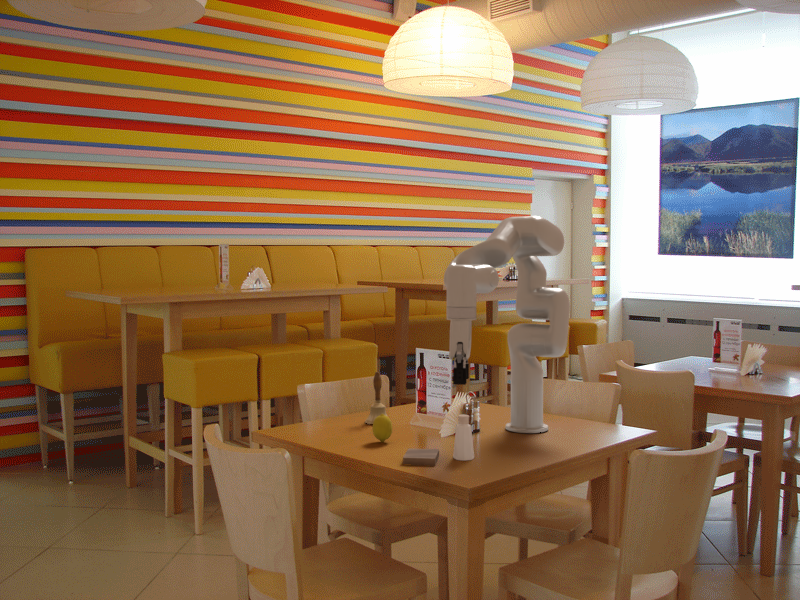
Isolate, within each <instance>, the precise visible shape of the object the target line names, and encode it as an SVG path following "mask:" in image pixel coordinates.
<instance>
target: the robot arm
mask: <svg viewBox="0 0 800 600" xmlns="http://www.w3.org/2000/svg"><path fill="white" fill-rule="evenodd" d="M564 246H565V237H564V233H563V232H562V230H561V229H560V227H558V226H557V225H555V224H554V223H553V222H551V221H549V220H548V219H546V218H544V217H542V216H538V215H527V216H526V215H525V216H509V217H507V218H505V219H503V220H501V221H500V223H498V225H497V226H496V228H495V229H494V230H493V231H492V232H491V233H490V235H489V236H488V237H487V238H486V240H484V241H482V242H480V243H477V244H475V245H474V246H471V247H469V248H467V249H465V250H463V251H461V252H460V253H459V254H457V255H456V256H455V257H454V258H452V260H451V261H450V263H449V264H448V265H447V267H446V269H445V271H444V275H443V284H444V286H445V288H446V320H447V321H450V324H449V325H450V326H449V352H448V353H449V355H448V359H450V360H453V358H454V363H453V368H452V369H453V373H452V375H453V376H452V377H453V379H452V380H453V385H458V386H459V385H460V386H461V385H462V386H464V385H465V386H466V385H467V381H468V380H469V377H470V371H469V370H470V364H469V358H470V357H471V349H472V323H473V322H472V321H477V294H489V293H492V292H493V291H494V290H495V289H496V288H497V286H498V284H499V282H500V280H499V279H500V278H499V273H498V270H496V268H500V267H501V266H504V265H506V264H507V263H509V262H510V261H511V259H513V261H514V263H515V266H516V270H517V284H516V295H515V296H516V297H515V311H516V315H517V316H518V317H519V318H521V319H525V320H540V321H541V320H542V321H549V324H546V323H545V324H544V323H543V324H542V323H541V324H540V323H517V324H514V325H513V326H511V327H510V329H509V330H508V332H507V345H508V352H509V359H510V360H509V361H510V422H507V423H505V429H506V430H507V431H508V432H513V433H519V434H539V433H540V432H541V433H544V432H547V431H549V425H548V424H546V423H544V370H543V367H542V365H541V363H540V361H539V360H538V358H537V357H541V358H560V357H562V356H564V354H565V353H566V350H567V345H568V336H569V327H570V326H569V325H570V323H569V322H570V311H571V310H570V309H571V308H570V307H571V304H570V303H571V301H570V297H569V295H568V293H567V291H565V290H564V289H563V288H558V287H547V276H548V275H547V269H546V266H544V264H543V262H542V261H541V260H540V259H539V257H553V256H558V255H559V254H561V253H562V251H563V249H564Z"/></svg>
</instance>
